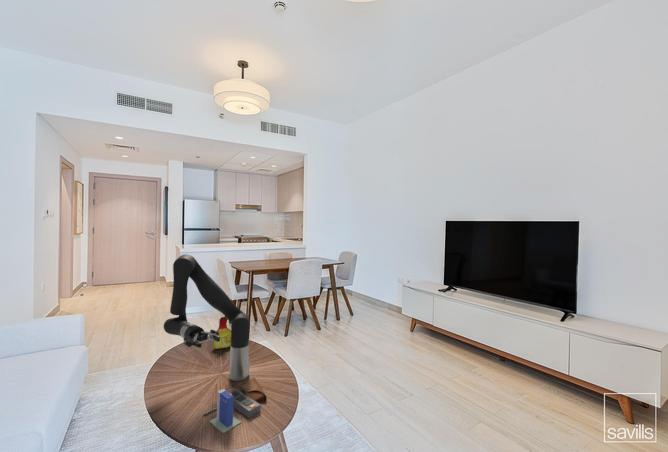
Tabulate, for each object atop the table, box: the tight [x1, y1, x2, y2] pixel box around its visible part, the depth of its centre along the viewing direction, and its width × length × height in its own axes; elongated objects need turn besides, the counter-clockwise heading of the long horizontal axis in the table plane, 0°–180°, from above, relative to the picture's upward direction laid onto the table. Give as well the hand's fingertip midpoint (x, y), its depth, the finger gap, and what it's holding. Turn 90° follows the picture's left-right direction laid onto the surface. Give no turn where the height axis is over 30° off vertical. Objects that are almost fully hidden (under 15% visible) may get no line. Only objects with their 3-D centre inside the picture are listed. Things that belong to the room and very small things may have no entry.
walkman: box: [216, 388, 234, 427], centre depth 123 cm, size 8×3×12 cm, turn 51°
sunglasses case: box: [239, 377, 268, 404], centre depth 144 cm, size 18×7×7 cm
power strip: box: [202, 388, 261, 419], centre depth 132 cm, size 25×18×3 cm
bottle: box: [212, 316, 231, 350], centre depth 193 cm, size 12×6×20 cm, turn 120°
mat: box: [209, 415, 242, 434], centre depth 123 cm, size 8×10×1 cm
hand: (210, 342), depth 131 cm, fingers open, 8 cm apart
